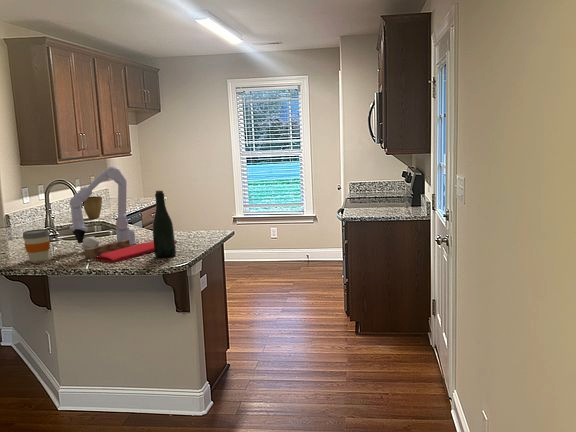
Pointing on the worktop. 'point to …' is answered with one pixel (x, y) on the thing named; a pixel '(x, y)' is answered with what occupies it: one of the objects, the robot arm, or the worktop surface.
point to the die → (90, 242)
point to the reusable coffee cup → (37, 244)
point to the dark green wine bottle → (163, 229)
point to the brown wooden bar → (105, 248)
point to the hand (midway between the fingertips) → (80, 243)
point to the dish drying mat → (127, 252)
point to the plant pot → (93, 207)
